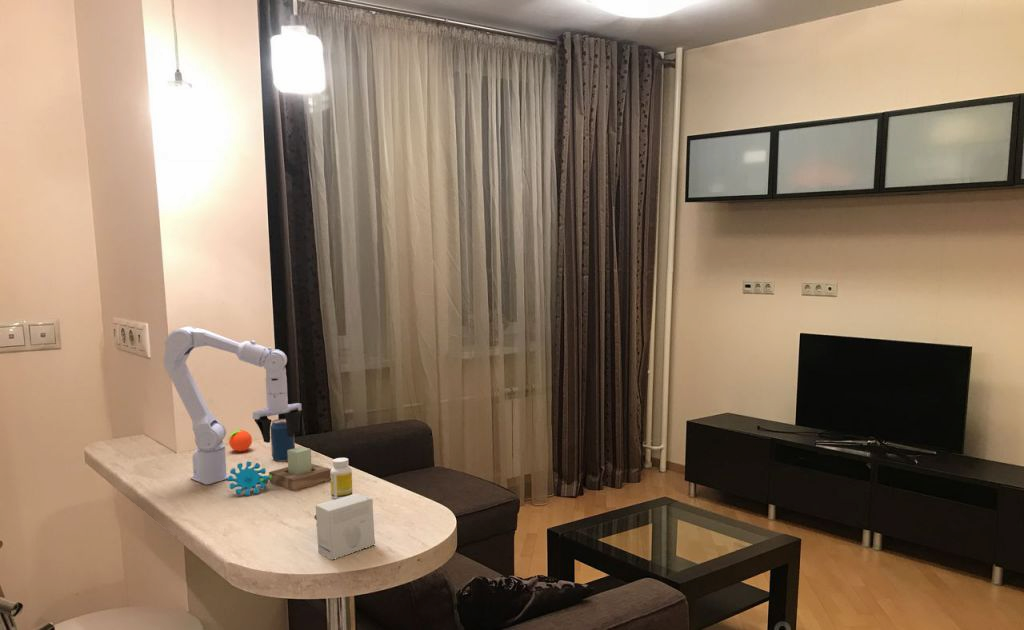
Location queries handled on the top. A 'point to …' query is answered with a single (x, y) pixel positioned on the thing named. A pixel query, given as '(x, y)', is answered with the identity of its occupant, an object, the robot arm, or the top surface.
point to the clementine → (240, 440)
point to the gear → (248, 478)
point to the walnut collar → (300, 477)
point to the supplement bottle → (341, 478)
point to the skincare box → (345, 525)
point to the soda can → (280, 440)
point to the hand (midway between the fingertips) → (278, 439)
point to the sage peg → (299, 460)
